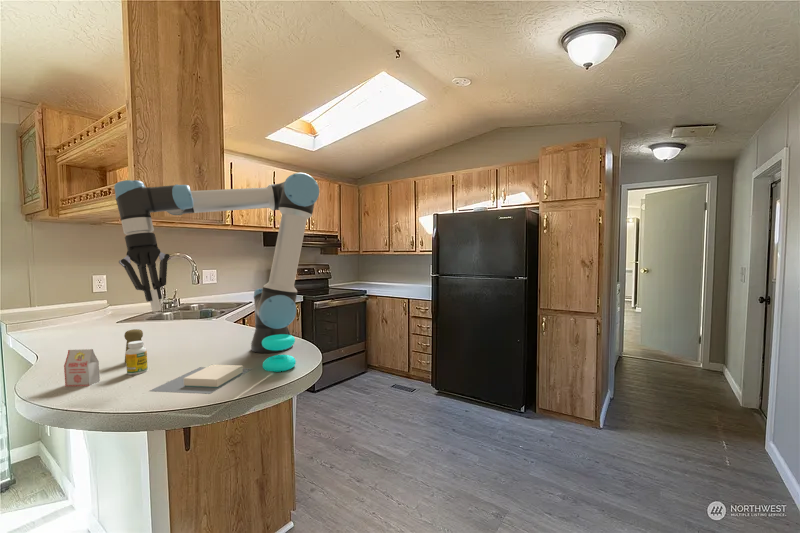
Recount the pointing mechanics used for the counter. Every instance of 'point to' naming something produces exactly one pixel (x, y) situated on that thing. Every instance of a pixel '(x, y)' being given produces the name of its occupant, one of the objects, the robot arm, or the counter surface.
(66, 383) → the white gable carton
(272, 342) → the donuts
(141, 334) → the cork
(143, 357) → the supplement bottle
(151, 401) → the counter surface
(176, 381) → the mat
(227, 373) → the tile
